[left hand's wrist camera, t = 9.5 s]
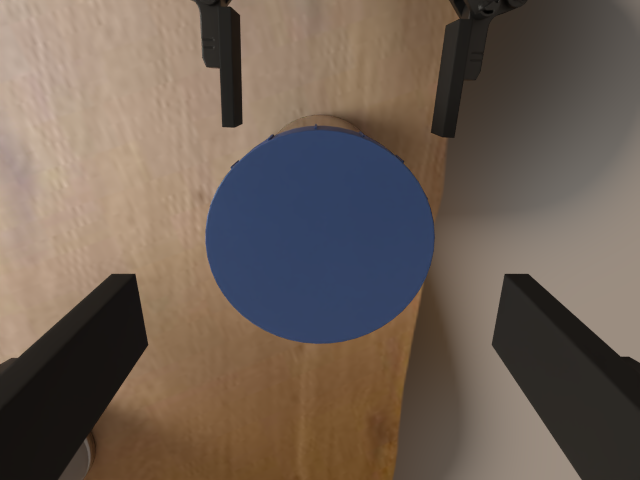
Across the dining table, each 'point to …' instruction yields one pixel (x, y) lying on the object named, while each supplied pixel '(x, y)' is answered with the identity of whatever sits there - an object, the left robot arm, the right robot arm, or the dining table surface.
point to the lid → (320, 235)
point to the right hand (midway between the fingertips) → (337, 131)
